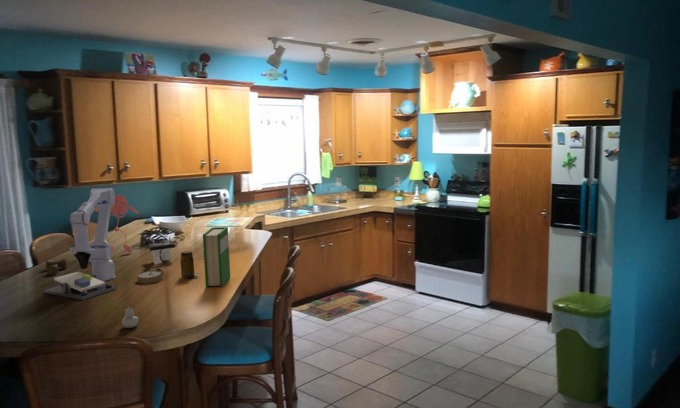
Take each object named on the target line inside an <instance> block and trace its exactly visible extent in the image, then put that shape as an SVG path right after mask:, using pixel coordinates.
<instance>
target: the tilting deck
mask: <svg viewBox="0 0 680 408" xmlns="http://www.w3.org/2000/svg"><path fill="white" fill-rule="evenodd" d="M53 281H55V282H58V283H60V284H61V283H62V284H63V283H68V286H69V287H71V288H74V289H76V290H78V291H80V292H82V291H85V290H89V289H92V288H95V287H99V286H102V285H105V284H106V281H101V280H98V279H96V278H93V277H92V276H91V275H89V274H88V273H87V274H86V273H83V272H81V271H75V272H72V273H67V274H65V275H60V276H56V277H54V278H53Z"/></svg>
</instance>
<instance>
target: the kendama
mask: <svg viewBox="0 0 680 408" xmlns="http://www.w3.org/2000/svg"><path fill="white" fill-rule="evenodd" d="M68 264H69V263H68V258H63V259H61V260H52V259H49V258H46V260H45V269H46V274H48V276H50V275H51V276H56V275H58V273H59V271H60V269H64V270H67V269H68ZM66 268H67V269H66Z"/></svg>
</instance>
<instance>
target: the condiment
mask: <svg viewBox="0 0 680 408" xmlns="http://www.w3.org/2000/svg"><path fill="white" fill-rule="evenodd" d="M194 259H195V258H194V256H193V252H192V251H181V253H180V275H181V276H180V277H178V279H179V280H180V279H181V280H184V279H197V278H199V277H200V276H201V274H196V273H195V261H194Z"/></svg>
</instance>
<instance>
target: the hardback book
mask: <svg viewBox="0 0 680 408" xmlns="http://www.w3.org/2000/svg"><path fill="white" fill-rule="evenodd" d="M202 240H203V241H202V243H203V245H202V246H203V261H204V262H203V264H204V277H205V279H204V280H205V288H207V289H208V288H209V287H211V286H212V287H215V286H216V287H217V286H220V288H224V286H225V284H226V283H227V282H228V281H229V280H230V278H231V266H230V265H231V263H230V246H229V245H230V242H229V241H230V240H229V227H228V226H223V227H222V226H221V227H220V226H219V227H217V226H216V227H211V228H209V229H208V230H207V231H205V232H204V233H202Z"/></svg>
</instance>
